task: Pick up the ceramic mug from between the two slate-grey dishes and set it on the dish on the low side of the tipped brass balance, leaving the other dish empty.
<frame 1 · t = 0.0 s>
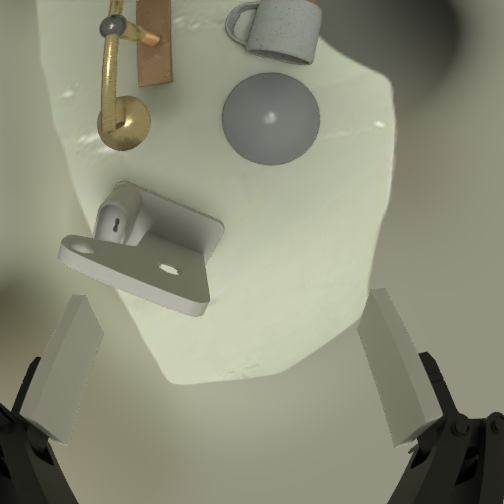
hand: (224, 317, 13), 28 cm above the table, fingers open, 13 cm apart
balance: (155, 40, 27), on the table
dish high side: (271, 118, 34), on the table
ceramic mug: (270, 32, 27), on the table
phone holder: (160, 226, 42), on the table
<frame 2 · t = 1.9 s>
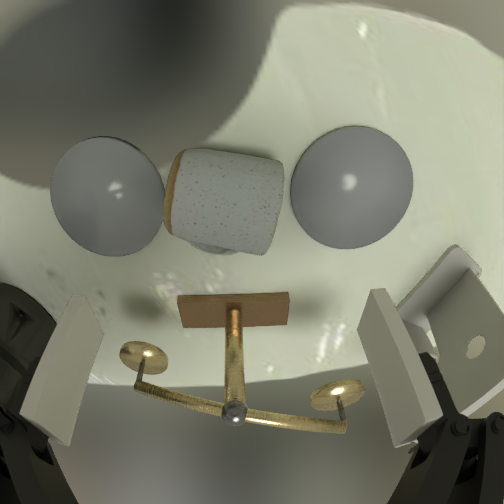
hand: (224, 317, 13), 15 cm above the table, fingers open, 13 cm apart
dish low side: (105, 198, 24), on the table
balance: (233, 307, 33), on the table
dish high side: (354, 189, 25), on the table
ceramic mug: (225, 195, 26), on the table
phone holder: (427, 300, 35), on the table
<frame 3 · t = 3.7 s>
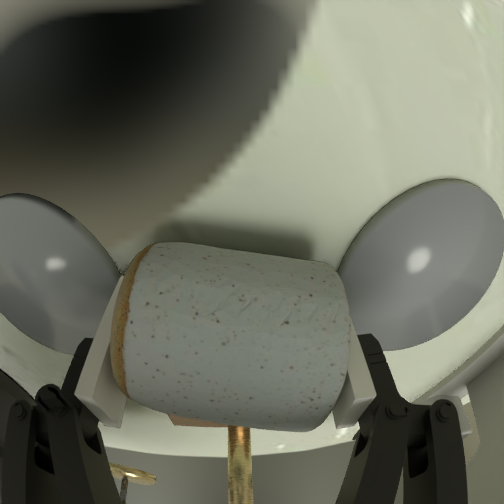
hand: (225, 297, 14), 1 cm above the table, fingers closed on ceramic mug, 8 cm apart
dish low side: (42, 283, 14), on the table
balance: (238, 407, 22), on the table
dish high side: (427, 275, 15), on the table
ceramic mug: (229, 297, 15), on the table, touching gripper
phone holder: (470, 371, 24), on the table
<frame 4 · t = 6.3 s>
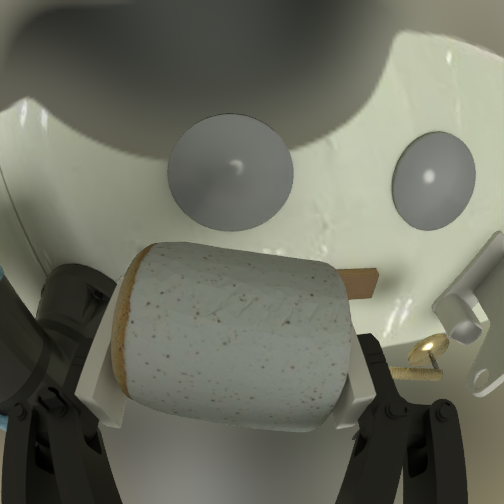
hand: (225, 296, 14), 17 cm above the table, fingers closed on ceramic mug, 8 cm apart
dish low side: (230, 173, 28), on the table
balance: (329, 282, 36), on the table
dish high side: (435, 182, 28), on the table
ceramic mug: (230, 297, 15), point 16 cm above the table, touching gripper
phone holder: (474, 279, 37), on the table
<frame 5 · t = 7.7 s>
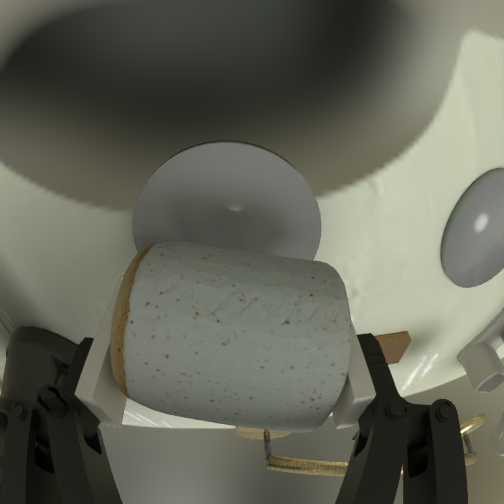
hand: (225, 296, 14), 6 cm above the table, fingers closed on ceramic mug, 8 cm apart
dish low side: (226, 232, 19), on the table
balance: (350, 351, 27), on the table
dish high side: (488, 230, 20), on the table
ceramic mug: (229, 297, 15), point 5 cm above the table, touching gripper
phone holder: (503, 322, 29), on the table
when the fingers open (3 cm above the table, at t = 8.9 s): ceramic mug stays where it is, resting on dish low side.
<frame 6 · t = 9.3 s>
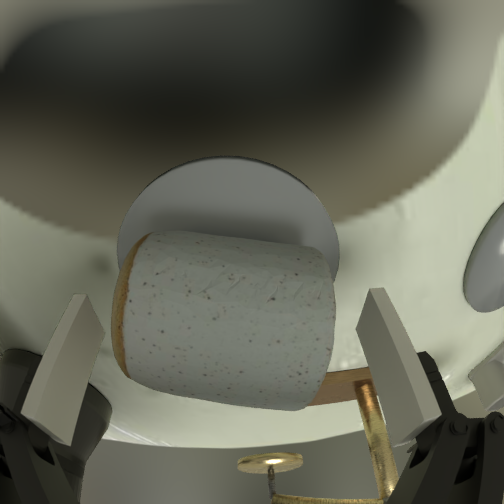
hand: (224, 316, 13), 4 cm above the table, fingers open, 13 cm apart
dish low side: (227, 263, 16), on the table
balance: (361, 378, 24), on the table
ceramic mug: (226, 285, 16), point 1 cm above the table, touching dish low side
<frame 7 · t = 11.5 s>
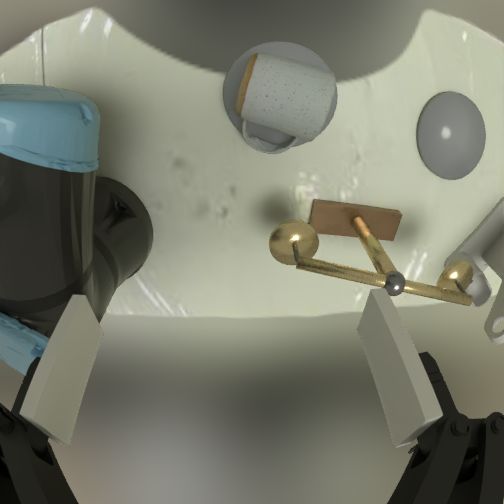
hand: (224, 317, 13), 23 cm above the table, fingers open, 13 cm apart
dish low side: (280, 94, 28), on the table
balance: (355, 218, 36), on the table
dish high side: (452, 135, 29), on the table
ceramic mug: (279, 104, 28), point 1 cm above the table, touching dish low side
phone holder: (483, 243, 38), on the table
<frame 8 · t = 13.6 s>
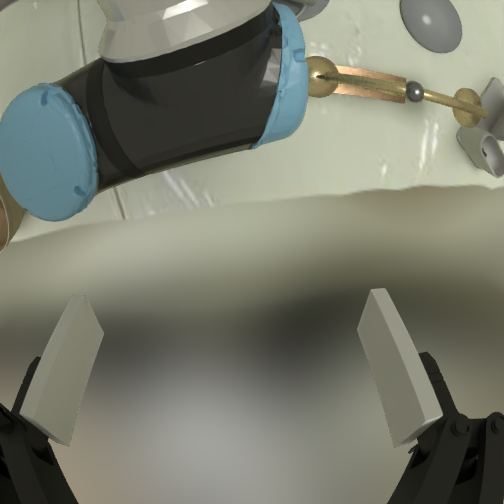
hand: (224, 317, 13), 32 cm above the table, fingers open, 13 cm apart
planter bowl: (13, 185, 39), on the table
balance: (366, 83, 34), on the table
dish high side: (431, 18, 26), on the table
phone holder: (486, 122, 35), on the table
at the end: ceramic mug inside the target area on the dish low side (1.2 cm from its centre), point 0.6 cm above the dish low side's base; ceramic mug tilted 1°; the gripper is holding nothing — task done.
